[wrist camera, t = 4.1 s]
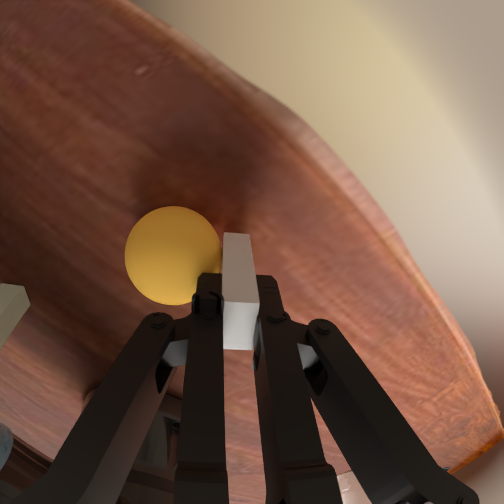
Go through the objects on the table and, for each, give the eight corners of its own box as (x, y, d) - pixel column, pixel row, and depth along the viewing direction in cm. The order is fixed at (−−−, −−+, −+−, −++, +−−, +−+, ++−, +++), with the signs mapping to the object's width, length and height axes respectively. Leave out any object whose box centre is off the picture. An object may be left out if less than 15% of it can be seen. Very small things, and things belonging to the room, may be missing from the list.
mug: (329, 520, 37) (369, 508, 35) (322, 480, 45) (359, 466, 43) (355, 520, 42) (390, 507, 40) (348, 486, 50) (380, 473, 48)
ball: (222, 272, 21) (219, 328, 16) (143, 269, 20) (121, 321, 16) (225, 194, 18) (221, 234, 13) (136, 192, 18) (103, 230, 13)
